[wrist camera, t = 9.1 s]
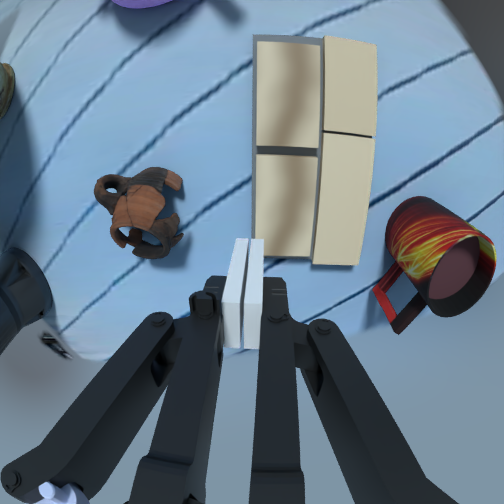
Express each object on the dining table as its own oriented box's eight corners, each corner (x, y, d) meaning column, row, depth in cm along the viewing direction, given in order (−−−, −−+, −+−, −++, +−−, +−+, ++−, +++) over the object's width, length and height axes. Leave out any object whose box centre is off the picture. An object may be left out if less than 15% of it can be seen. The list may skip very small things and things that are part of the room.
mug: (369, 287, 36) (397, 348, 25) (393, 190, 30) (446, 226, 19) (423, 290, 36) (459, 343, 25) (451, 202, 29) (506, 239, 19)
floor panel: (251, 253, 35) (250, 262, 33) (253, 37, 23) (252, 31, 21) (353, 256, 34) (358, 265, 32) (369, 49, 22) (376, 44, 20)
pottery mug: (208, 184, 32) (190, 241, 27) (177, 222, 38) (160, 272, 34) (119, 137, 26) (82, 189, 22) (103, 185, 33) (76, 233, 29)
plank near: (256, 144, 27) (256, 145, 26) (257, 44, 22) (257, 41, 21) (315, 147, 27) (318, 148, 26) (317, 48, 22) (319, 45, 21)
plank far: (255, 250, 33) (255, 255, 32) (256, 154, 28) (256, 155, 27) (308, 251, 33) (309, 256, 32) (315, 156, 28) (317, 158, 27)
